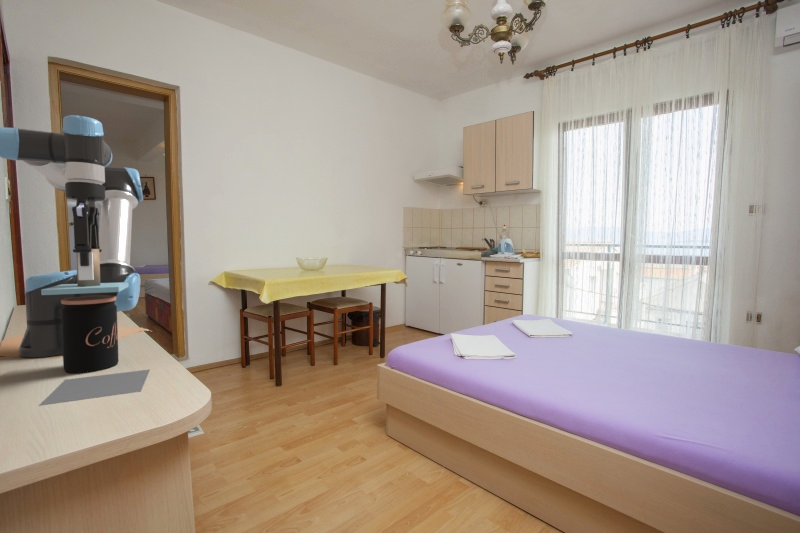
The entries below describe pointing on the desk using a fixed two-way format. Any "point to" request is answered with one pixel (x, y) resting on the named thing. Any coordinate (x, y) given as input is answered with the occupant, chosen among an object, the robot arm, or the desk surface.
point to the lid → (87, 282)
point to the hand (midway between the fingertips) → (88, 278)
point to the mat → (97, 387)
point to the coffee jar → (89, 333)
